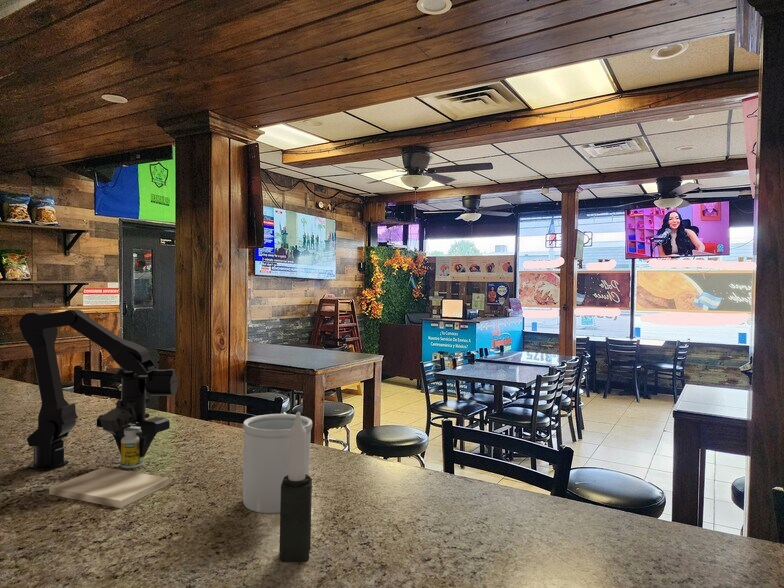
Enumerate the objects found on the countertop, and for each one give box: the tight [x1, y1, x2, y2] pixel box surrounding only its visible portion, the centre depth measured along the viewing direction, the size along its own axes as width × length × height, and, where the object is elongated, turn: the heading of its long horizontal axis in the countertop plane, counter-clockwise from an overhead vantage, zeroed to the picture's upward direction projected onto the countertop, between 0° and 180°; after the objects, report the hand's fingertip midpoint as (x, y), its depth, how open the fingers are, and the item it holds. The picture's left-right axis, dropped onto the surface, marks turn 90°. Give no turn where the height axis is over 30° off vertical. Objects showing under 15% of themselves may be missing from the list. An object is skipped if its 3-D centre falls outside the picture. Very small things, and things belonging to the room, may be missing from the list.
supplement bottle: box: [120, 426, 145, 469], centre depth 131 cm, size 5×5×10 cm
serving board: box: [48, 466, 170, 509], centre depth 115 cm, size 20×14×2 cm
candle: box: [278, 411, 313, 563], centre depth 88 cm, size 5×5×25 cm
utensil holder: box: [242, 413, 313, 514], centre depth 111 cm, size 15×15×18 cm
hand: (132, 455), depth 131 cm, fingers open, 6 cm apart
